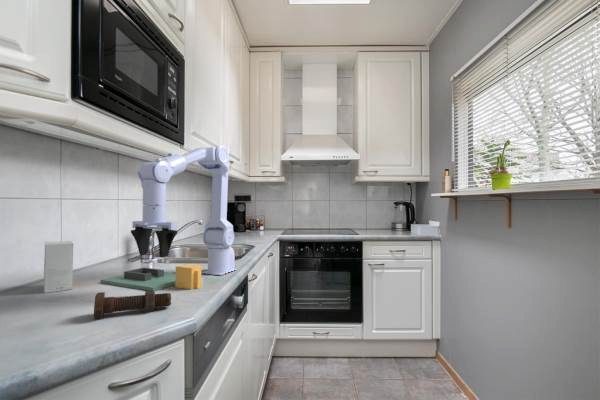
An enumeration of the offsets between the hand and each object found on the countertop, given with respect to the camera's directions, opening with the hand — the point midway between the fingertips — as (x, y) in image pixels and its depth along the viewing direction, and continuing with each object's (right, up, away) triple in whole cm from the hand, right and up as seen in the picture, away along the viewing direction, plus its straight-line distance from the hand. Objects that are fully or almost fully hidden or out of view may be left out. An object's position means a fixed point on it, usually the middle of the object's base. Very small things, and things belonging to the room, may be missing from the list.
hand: (153, 255), depth 87 cm
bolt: (+3, -10, -16) cm, 19 cm away
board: (-7, -10, +13) cm, 18 cm away
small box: (-29, -10, +4) cm, 31 cm away
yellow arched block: (+7, -10, +7) cm, 14 cm away
